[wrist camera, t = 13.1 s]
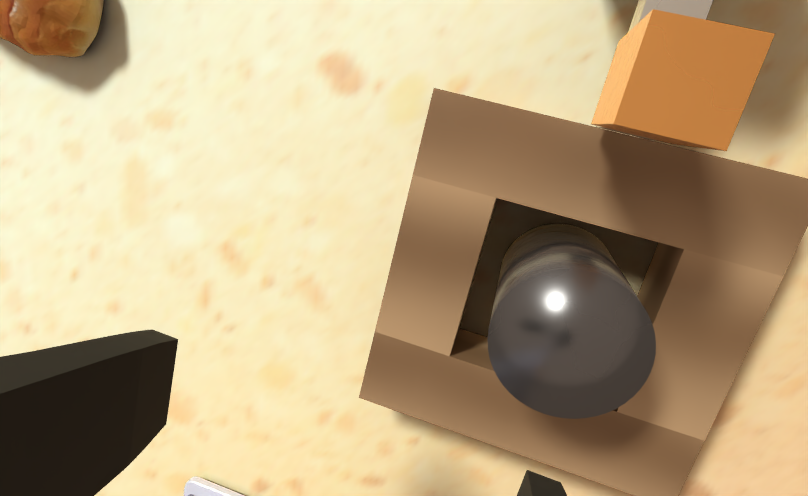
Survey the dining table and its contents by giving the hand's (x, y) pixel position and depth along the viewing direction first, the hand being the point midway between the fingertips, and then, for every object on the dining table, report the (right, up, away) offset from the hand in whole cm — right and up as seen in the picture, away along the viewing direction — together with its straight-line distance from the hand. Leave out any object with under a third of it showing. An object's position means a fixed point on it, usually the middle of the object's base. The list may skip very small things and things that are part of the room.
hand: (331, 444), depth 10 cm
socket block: (+7, +2, +9) cm, 11 cm away
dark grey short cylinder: (+7, +3, +9) cm, 11 cm away
